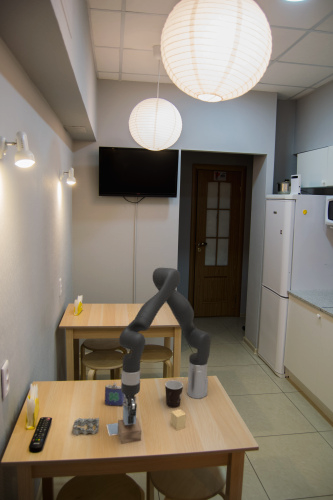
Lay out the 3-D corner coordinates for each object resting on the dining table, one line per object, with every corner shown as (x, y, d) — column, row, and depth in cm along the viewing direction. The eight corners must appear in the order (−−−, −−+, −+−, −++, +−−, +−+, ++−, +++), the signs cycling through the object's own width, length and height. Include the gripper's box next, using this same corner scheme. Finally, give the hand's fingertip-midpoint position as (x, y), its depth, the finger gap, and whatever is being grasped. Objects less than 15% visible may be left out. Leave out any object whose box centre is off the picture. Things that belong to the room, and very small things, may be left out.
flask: (124, 403, 170) (125, 382, 169) (123, 406, 167) (124, 385, 166) (105, 402, 171) (105, 381, 169) (103, 405, 168) (104, 384, 166)
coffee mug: (173, 397, 177) (173, 378, 176) (185, 404, 171) (186, 385, 170) (155, 405, 169) (156, 386, 168) (168, 413, 163) (169, 393, 162)
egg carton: (71, 436, 145) (71, 427, 144) (74, 425, 152) (74, 416, 152) (97, 436, 146) (98, 426, 145) (100, 425, 153) (100, 416, 153)
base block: (136, 427, 151) (136, 417, 150) (140, 441, 144) (141, 430, 143) (117, 430, 149) (118, 420, 148) (121, 444, 141) (121, 433, 140)
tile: (124, 422, 155) (124, 421, 155) (127, 433, 148) (127, 432, 148) (106, 425, 153) (106, 424, 153) (109, 435, 146) (109, 435, 146)
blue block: (133, 417, 148) (134, 403, 147) (135, 423, 144) (136, 409, 143) (122, 418, 147) (123, 405, 146) (124, 425, 142) (125, 411, 142)
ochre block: (179, 421, 158) (180, 409, 157) (185, 427, 154) (185, 414, 153) (170, 424, 155) (171, 411, 155) (176, 430, 151) (177, 417, 151)
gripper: (144, 387, 138) (142, 429, 140) (136, 371, 151) (134, 409, 153) (124, 389, 135) (123, 431, 137) (118, 372, 149) (117, 411, 151)
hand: (129, 419), depth 145 cm, fingers closed on blue block, 4 cm apart
